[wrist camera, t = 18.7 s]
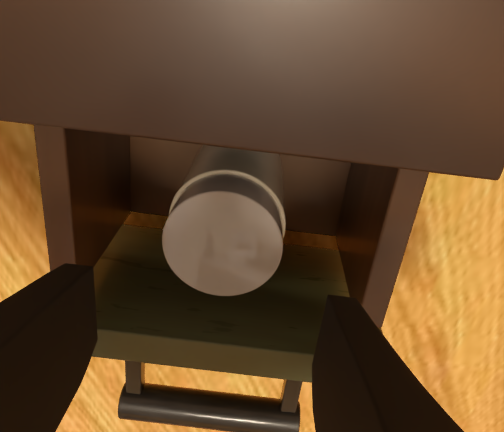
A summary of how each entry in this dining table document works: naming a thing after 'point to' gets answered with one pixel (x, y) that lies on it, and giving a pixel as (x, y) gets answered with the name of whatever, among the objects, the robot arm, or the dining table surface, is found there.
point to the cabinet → (268, 76)
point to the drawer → (207, 305)
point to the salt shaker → (227, 221)
